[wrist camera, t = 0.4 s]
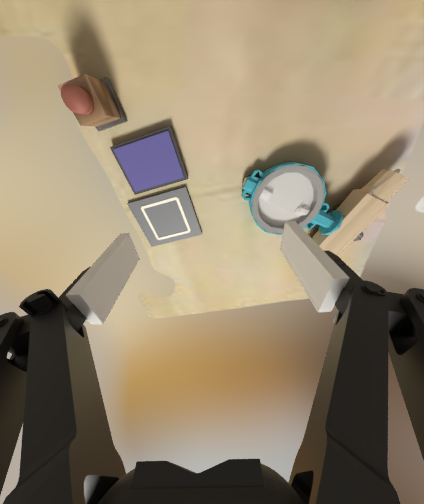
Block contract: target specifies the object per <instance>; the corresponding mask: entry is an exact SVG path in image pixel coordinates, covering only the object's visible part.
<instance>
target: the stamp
mask: <svg viewBox="0 0 424 504" xmlns="http://www.w3.org/2000/svg"><path fill="white" fill-rule="evenodd" d="M58 87H59V89H60V91H61V96H62V99H63V101H64V103H65V105H66V106H67V107H68V108H69V109H70V110H71V111H73V113H74V115H75V117H76V118H77V120H78V122H79V124H80V125H82V126H95V127H96V128H97V130H98V131H102V130H105V129H107V128H110V127H113V126H116V125H118V124H121V123H124V122H127V119H126V117H125V114H124V112H123V110H122V108H121V105H120V103H119V101H118V98H117V96H116V94H115V92H114V89H113V87H112V85H111V83H110V80H109V79H108V78H104V79H101V80H98V79H96V78H94V77H92V76H90V75H88V74H84V75H81V76H79V77H77V78H74V79H72V80H70V81H68V82H65V83H63V84H61V85H58Z"/></svg>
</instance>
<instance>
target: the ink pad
mask: <svg viewBox="0 0 424 504" xmlns="http://www.w3.org/2000/svg"><path fill="white" fill-rule="evenodd" d="M110 148H111V150H112V152H113V154H114V156H115V158H116V160H117V162H118V164H119V165H120V167H121V169H122V171H123V173H124V175H125V177H126V179H127V181H128V182H129V184H130V186H131V188H132V190H133V192H134V194H139V193H142V192H146V191H149V190H152V189H156V188H159V187H163V186H166V185H169V184H173V183H176V182H180V181H183V180H186V179H188V176H187V173H186V170H185V167H184V164H183V161H182V158H181V155H180V152H179V149H178V146H177V143H176V140H175V136H174V133H173V130H172V127H171V126H170V127H167V128H164V129H161V130H158V131H155V132H152V133H149V134H147V135H144V136H141V137H138V138H135V139H132V140H129V141H126V142H123V143H121V144H118V145H115V146H112V147H110Z"/></svg>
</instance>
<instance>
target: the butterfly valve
mask: <svg viewBox="0 0 424 504" xmlns="http://www.w3.org/2000/svg"><path fill="white" fill-rule="evenodd" d="M257 172H259V174H260V177H259V178H258V177H255V175H256V174H257ZM399 172H400V169H396V170H395V171H390V170H385V169H382V170H381V171H380V172H379V173H378V174H377V175H376V176H375V177H374V178H373V179H372V180H371V181H370V182H369V183H368V184H367V185H365V186H364V187H363V188H361V189H359V188H358V189H357V190H356V189H354V190H353V191H352V192H351V193H350V194H349V195H348V197H347V198H346V199H345V200H344V201H343V202H342V204H341V205H340V206H339V207H338V208H337V209H336V210H334V211H331V212H329V213H326V212H327V210H328V209H329V205H328V204H327V203H325V202H324V200H325V196H326V193H327V192H326V190H325V182H324V180H323V179H322V177H321V176H320V175H319V173H318V172H317V171H316V170H315V168H314V167H312V166H309V165H306V164H301V163H295V162H287V163H283V164H278V165H275V166H273V167H271V168H269V169H267V170H266V171H265V172H264V173H262V172H261V171H260V170H259V169H258V170H254V171H253V173H252V174H251V176H248V177H246V178H245V179H244V181H243V183H242V186H243V187H242V189H244V190H243V192H242V197H243V198H244V200H249V205H250V210H251V213H252V216H253V218H254V220H255V222H256V224H257V225H258V226H259V227H260V228H261V229H262V230H264V231H265V232H268V233H273V234H278V235H282V234H283V231H284V225H285V222H286V221H295V222H296V223H297V224H298V225H299V226H300V227H301V228H304V227H306V228H307V229H311V228H313V227H314V226H315V225H316V224H318V225H319V228H318V231H317V232H316V234H315V235H314V236H313V237H312V239H313V240H314V241H315V242H316V243H317V245H318V246H319V247H320V248H321V249H322V250H323V251H328V250H329V251H330V252H332V253H334V254H336V255H338V254H339V253H340V252H341V251H342V250H343V249H344V248H346V247H347V246H348V245H349V244H350V243H351V242H352V241H357V240H361V238H362V237H363V236H364V235H363V232H362V231H363V230H364V229H365V228H366V227H367V226H368V225H369V224H370V223H371V222H372V221H373V220H374V219H375V218H377V217H378V216H379V215H380V214H381V213H382V212H383V211H384V210H385V209H386V208H387V207H388V206H389V205H390V203H389V202H387V201H388V200H389V199H390V198H391V197H392V196H393V195H394V193H396V192H397V190H398V189H399V188H400V187H401V186H402V185H403V184H404V183H405V182H406V181H407V180H408V179H407V178H406V177H405V176H403V175H401V174H399ZM246 193H249V194H251V195H249V196H246V197H245V196H244V194H246ZM323 205H324V206H323ZM322 206H323V207H322ZM321 208H322V209H321Z"/></svg>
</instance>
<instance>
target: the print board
mask: <svg viewBox="0 0 424 504" xmlns="http://www.w3.org/2000/svg"><path fill="white" fill-rule="evenodd" d="M128 206H129V208H130V209H131V211H132V213H133V215H134V216H135V218H136V220H137V222H138V223H139V225H140V227H141V229H142V230H143V232H144V234H145V236H146V237H147V239H148V241H149V243H150V244H151V246H157V245H161V244H165V243H169V242H173V241H177V240H181V239H185V238H190V237H194V236H198V235H202V231H201V228H200V226H199V223H198V220H197V217H196V214H195V211H194V208H193V205H192V202H191V199H190V196H189V193H188V191H187V188H186V187H182V188H179V189H175V190H172V191H168V192H165V193H161V194H158V195H154V196H151V197H148V198H144V199H141V200H137V201H134V202H130V203H128Z"/></svg>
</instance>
